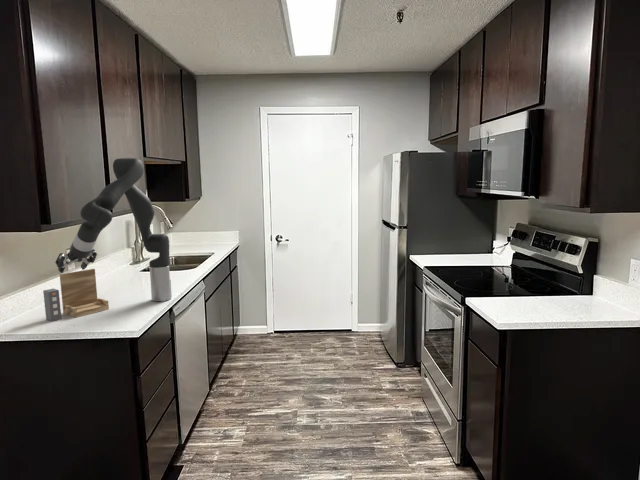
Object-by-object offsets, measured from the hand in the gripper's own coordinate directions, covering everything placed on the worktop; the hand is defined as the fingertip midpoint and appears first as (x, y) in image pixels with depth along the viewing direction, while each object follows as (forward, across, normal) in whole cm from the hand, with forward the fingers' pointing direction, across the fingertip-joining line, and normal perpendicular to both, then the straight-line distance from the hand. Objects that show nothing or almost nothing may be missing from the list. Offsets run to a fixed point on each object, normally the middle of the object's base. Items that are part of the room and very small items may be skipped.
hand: (71, 269), depth 174 cm
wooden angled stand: (+25, -11, +7) cm, 28 cm away
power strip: (+25, +3, +7) cm, 26 cm away
